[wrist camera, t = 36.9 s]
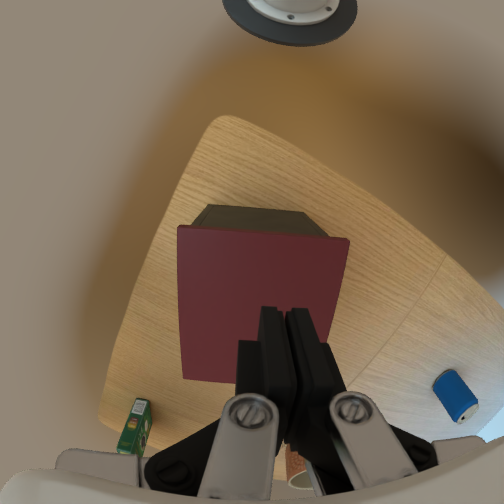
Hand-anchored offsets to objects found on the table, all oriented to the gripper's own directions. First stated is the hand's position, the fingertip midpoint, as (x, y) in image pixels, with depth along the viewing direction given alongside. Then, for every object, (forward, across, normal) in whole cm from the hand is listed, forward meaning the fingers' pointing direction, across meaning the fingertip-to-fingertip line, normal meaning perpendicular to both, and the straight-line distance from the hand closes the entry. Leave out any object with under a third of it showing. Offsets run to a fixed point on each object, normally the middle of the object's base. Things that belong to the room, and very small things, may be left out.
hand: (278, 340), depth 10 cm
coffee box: (+24, +18, +39) cm, 49 cm away
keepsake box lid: (+10, 0, +5) cm, 11 cm away
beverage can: (+24, -44, +31) cm, 59 cm away
